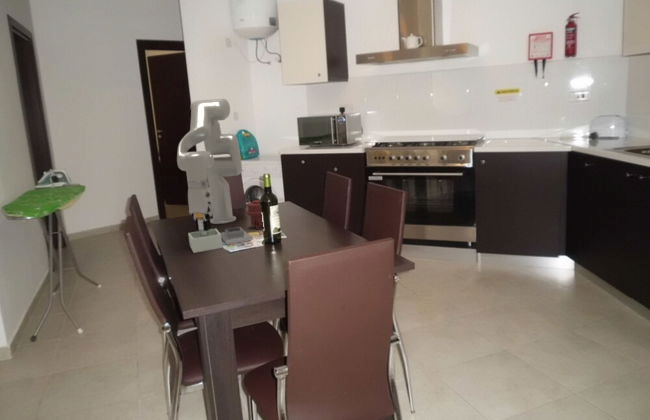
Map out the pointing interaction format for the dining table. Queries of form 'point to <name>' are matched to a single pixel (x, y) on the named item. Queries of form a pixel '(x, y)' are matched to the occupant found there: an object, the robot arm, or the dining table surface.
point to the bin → (205, 241)
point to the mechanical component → (255, 214)
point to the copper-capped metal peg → (201, 225)
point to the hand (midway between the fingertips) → (203, 229)
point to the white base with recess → (234, 235)
